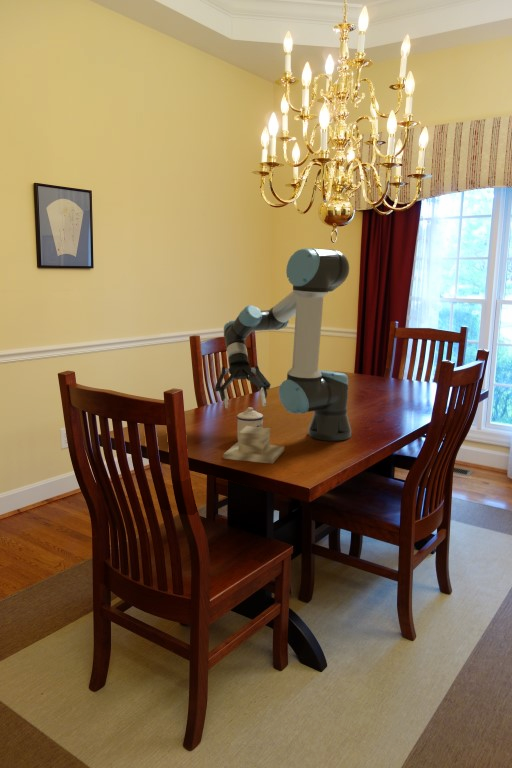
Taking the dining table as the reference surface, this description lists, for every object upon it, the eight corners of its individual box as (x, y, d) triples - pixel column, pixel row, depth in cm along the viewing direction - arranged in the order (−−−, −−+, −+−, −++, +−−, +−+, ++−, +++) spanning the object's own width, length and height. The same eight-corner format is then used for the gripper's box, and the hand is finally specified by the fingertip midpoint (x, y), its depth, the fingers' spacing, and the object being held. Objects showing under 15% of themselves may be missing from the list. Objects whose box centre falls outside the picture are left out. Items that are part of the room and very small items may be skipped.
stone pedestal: (284, 450, 190) (284, 426, 189) (272, 463, 177) (273, 438, 175) (237, 446, 195) (237, 422, 193) (223, 458, 181) (223, 433, 180)
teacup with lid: (257, 445, 195) (258, 411, 193) (232, 442, 198) (232, 409, 196) (269, 436, 207) (269, 404, 204) (245, 434, 210) (245, 402, 207)
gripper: (268, 362, 224) (277, 409, 212) (203, 364, 218) (209, 412, 207) (272, 350, 218) (281, 398, 206) (205, 352, 212) (212, 401, 201)
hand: (245, 405), depth 206 cm, fingers open, 13 cm apart
